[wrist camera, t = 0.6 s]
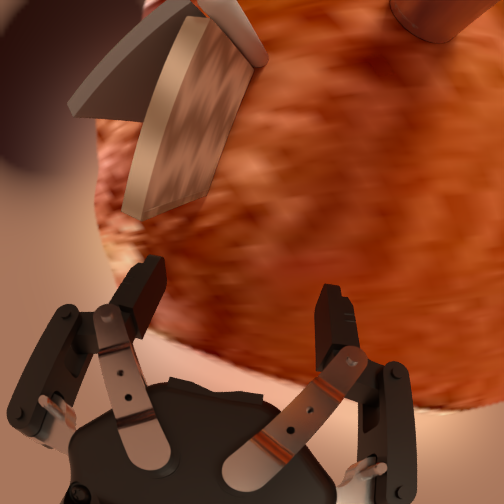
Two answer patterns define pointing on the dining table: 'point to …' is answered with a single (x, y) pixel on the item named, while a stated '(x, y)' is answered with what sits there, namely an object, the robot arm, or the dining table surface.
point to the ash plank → (186, 120)
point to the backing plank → (155, 59)
